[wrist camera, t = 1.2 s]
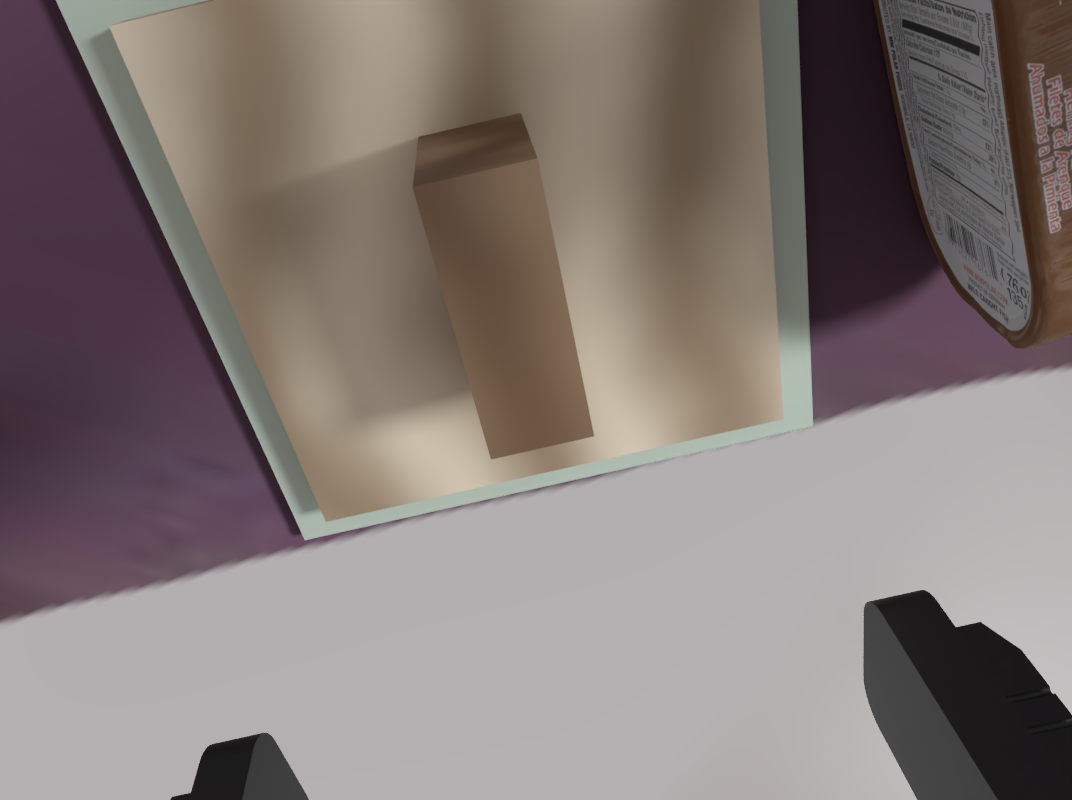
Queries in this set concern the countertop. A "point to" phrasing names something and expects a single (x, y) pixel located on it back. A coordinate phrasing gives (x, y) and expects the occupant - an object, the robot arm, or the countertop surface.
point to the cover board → (365, 248)
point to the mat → (88, 14)
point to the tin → (990, 150)
